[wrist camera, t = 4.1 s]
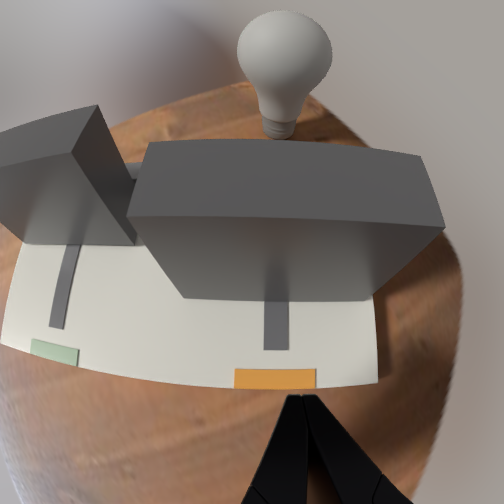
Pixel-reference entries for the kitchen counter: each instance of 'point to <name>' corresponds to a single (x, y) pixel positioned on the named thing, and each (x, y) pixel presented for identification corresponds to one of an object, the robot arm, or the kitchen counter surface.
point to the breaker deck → (178, 324)
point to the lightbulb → (283, 65)
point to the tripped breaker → (281, 217)
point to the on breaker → (65, 182)
